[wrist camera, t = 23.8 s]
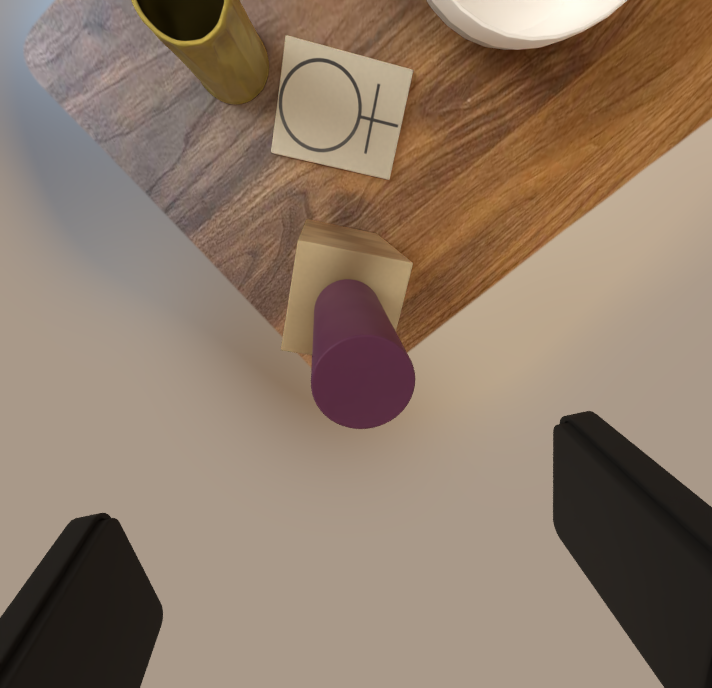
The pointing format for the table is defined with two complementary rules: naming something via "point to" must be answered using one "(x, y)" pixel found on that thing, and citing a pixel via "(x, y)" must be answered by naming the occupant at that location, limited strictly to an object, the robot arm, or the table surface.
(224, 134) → the table surface
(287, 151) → the sketch card
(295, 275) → the stand
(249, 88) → the vase
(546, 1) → the bowl
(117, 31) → the table surface
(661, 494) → the robot arm
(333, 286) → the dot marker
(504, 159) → the table surface
